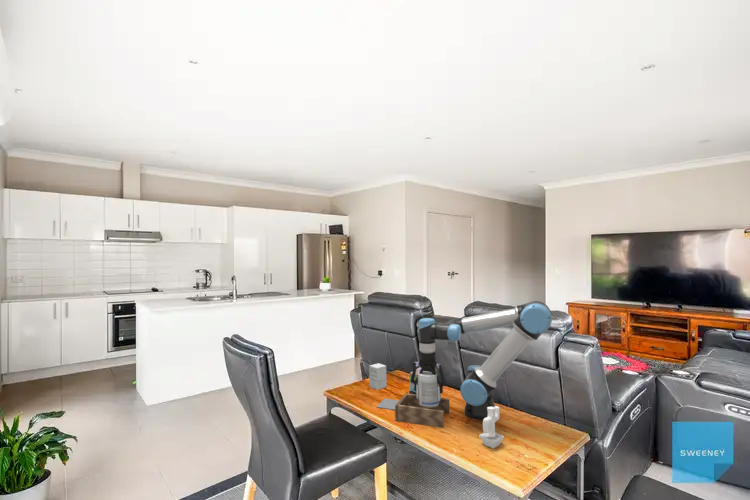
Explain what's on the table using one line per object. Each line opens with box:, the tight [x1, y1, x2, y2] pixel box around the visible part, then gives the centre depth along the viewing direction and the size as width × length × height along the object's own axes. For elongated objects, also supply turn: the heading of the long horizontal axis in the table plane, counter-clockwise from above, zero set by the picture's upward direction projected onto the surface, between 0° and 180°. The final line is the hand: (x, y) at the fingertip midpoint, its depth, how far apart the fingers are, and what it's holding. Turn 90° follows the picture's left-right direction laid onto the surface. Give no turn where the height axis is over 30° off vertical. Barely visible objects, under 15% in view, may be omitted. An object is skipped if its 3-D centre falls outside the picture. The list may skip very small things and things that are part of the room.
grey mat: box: [376, 398, 400, 411], centre depth 197 cm, size 12×12×1 cm
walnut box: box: [394, 393, 451, 429], centre depth 182 cm, size 22×17×7 cm
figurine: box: [478, 405, 505, 449], centre depth 155 cm, size 7×9×15 cm
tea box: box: [408, 366, 438, 395], centre depth 206 cm, size 15×10×15 cm, turn 148°
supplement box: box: [368, 362, 387, 391], centre depth 224 cm, size 7×7×13 cm
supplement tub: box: [418, 371, 439, 408], centre depth 181 cm, size 10×10×15 cm
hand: (428, 398), depth 181 cm, fingers closed on supplement tub, 10 cm apart
